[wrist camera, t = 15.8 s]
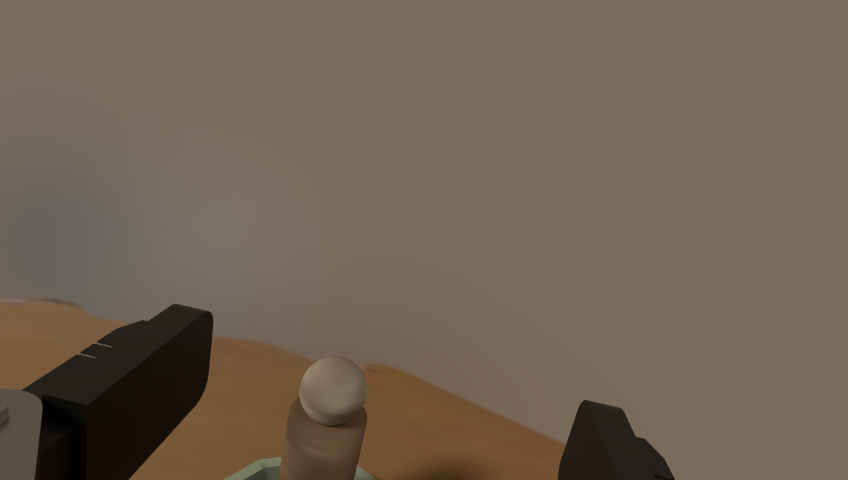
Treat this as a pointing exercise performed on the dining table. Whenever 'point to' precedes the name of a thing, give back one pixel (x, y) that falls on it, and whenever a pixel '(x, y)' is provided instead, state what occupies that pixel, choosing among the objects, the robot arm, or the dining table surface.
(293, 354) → the dining table surface
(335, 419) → the wooden peg figure
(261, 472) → the round tray
